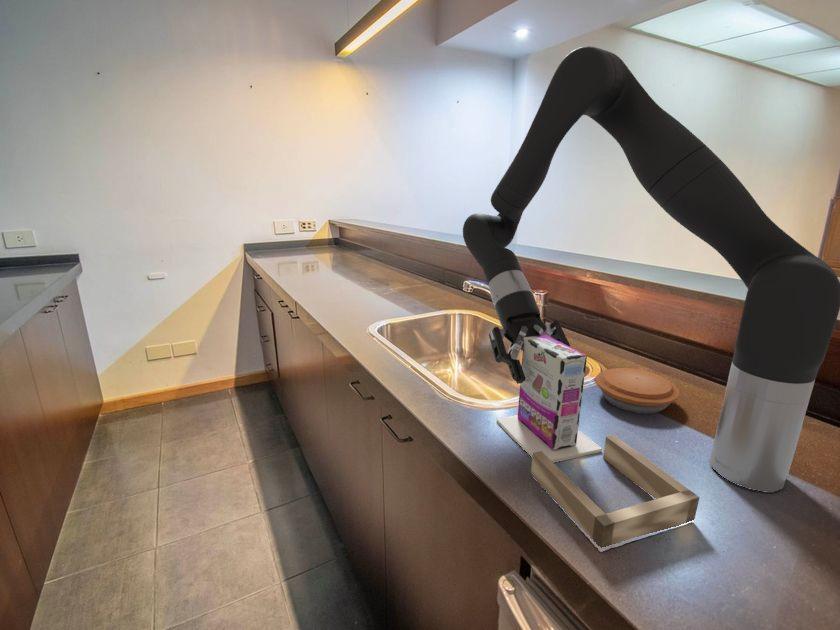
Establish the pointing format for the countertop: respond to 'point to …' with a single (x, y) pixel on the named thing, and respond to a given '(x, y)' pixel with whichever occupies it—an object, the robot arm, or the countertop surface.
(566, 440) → the candy bar box
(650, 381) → the pie
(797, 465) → the countertop surface
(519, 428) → the mat
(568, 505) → the frame
